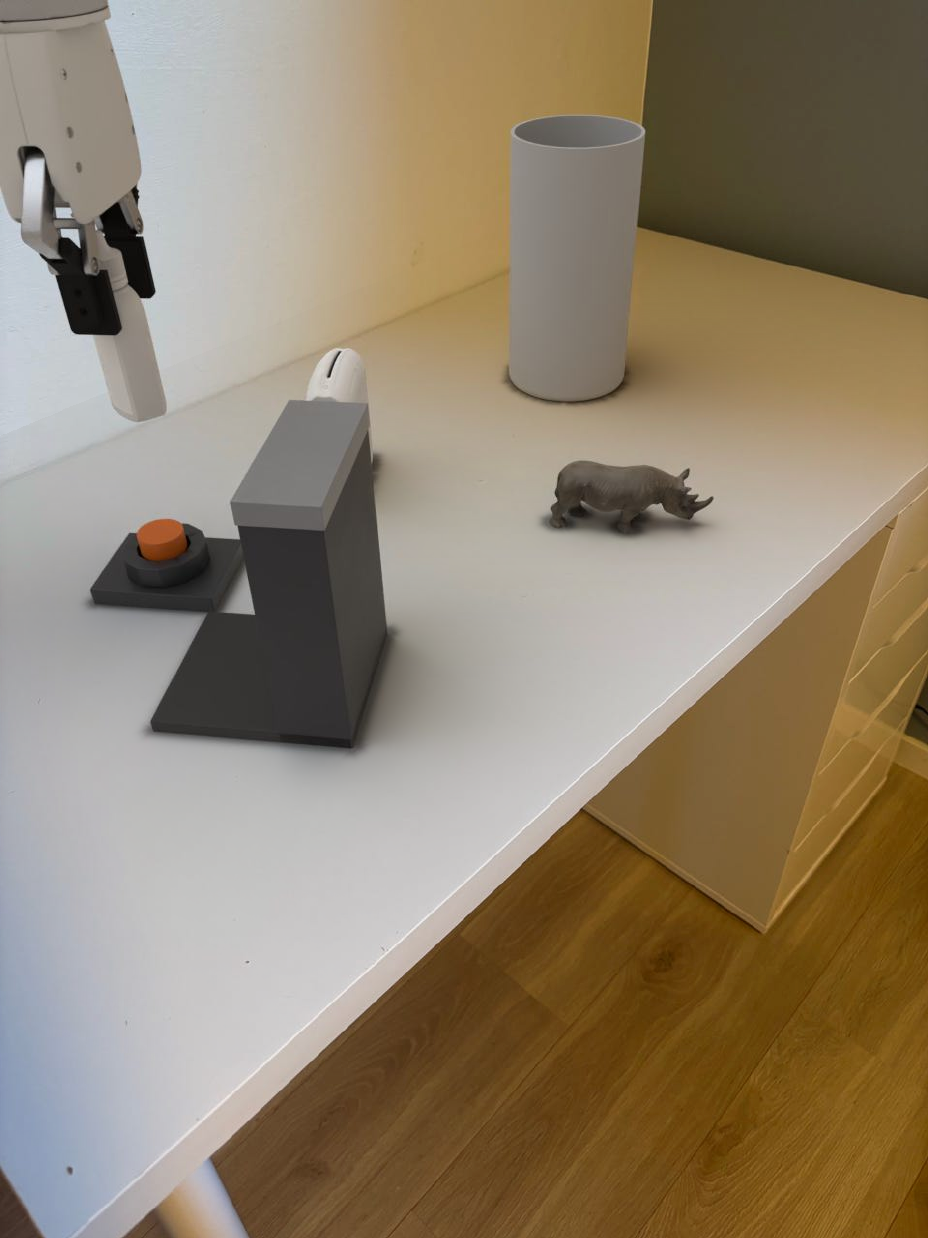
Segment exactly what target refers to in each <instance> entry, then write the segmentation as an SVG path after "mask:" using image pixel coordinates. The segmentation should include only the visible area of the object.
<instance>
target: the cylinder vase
mask: <svg viewBox="0 0 928 1238" xmlns="http://www.w3.org/2000/svg"><path fill="white" fill-rule="evenodd" d="M645 141H646V129H645V128H644V126H643V125H641V124H639V123H637V122H634V121H631V120H630V119H624V118H621V117H615V116H609V115H608V116H607V115H599V114H560V115H550V116H542V117H537V118H531V119H527V120H525V121H522V122H519V123H517V124H515V125H514V126H513V127H512V128H511V129H510V176H509V177H510V178H509V179H510V182H509V184H510V188H509V191H510V192H509V212H510V213H509V299H508V300H509V301H508V302H509V304H508V307H509V312H508V313H509V314H508V315H509V318H508V325H509V326H508V334H509V335H508V375H509V378H510V380H511V382H512V383H513V385H514V386H515V387H516V388H518V389H519V390H520V391H521V392H524V393H525V394H526V395H529V396H531V397H534V398H538V399H541V400H546V401H552V402H562V403H563V402H564V403H565V402H567V403H570V402H584V401H590V400H594V399H595V400H596V399H598V398H601V397H604V396H606V395H608V394H610V393H612V392H614V391H615V390H616V389H617V388H618V387H619V386H620V385H621V383H622V382H623V380H624V377H625V373H626V372H625V370H626V361H627V360H626V358H627V347H628V336H629V335H628V334H629V325H630V314H631V313H630V312H631V303H632V302H631V301H632V292H633V291H632V289H633V278H634V266H635V255H636V243H637V234H638V233H637V231H638V220H639V210H640V209H639V208H640V198H641V197H640V196H641V185H642V176H643V175H642V173H643V162H644V151H645Z"/></svg>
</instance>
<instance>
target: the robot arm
mask: <svg viewBox="0 0 928 1238" xmlns="http://www.w3.org/2000/svg"><path fill="white" fill-rule="evenodd" d="M111 18H112V14H111V9H110V4H109V0H0V191H1V194H2V198H3V201H4V204H5V208H6V210H7V212H8V215H9V217H10V218H11V219H12V220H13V221H14V222H15V223H17V224H20V237H21V240H22V242H23V243H24V244H25V245H27V246H28V247H30V248H31V249H32V250H34V251H35V252H36V253H37V254H38V255H39V256H40V258H41V259H42V260H44V261H45V263H46V264H47V265H46V266H47V269H48V271H49V273H50V274H51V275H52V276H55V280H56V283H57V288H58V291H59V293H60V297H61V301H62V305H63V307H64V311H65V315H66V318H67V322H68V325H69V329H70V331H71V332H72V333H73V334H75V335H78V336H93V335H117V334H118V333H119V332H120V331H121V330H122V325H121V321H120V317H119V313H118V309H117V306H116V302H115V298H114V294H113V290H112V286H111V282H110V278H109V274H108V270H100V263H99V255H98V246H97V238H96V230H101V231H102V234H103V236H104V238H105V240H106V243H107V244H108V246H109V247H111V248H115V249H118V250H119V251H120V252H121V254H122V259H123V263H124V267H125V271H126V275H127V279H128V283H127V284H128V285H129V286H130V287H131V288H133V289H134V291H135V292H136V293H137V294H138V296H139V297H140V299H147V300H148V299H152V298H153V297H154V296H155V294H156V292H157V291H156V285H155V281H154V278H153V273H152V269H151V265H150V259H149V256H148V251H147V250H148V249H147V247H146V242H145V237H144V236H143V233H144V227H145V226H144V220H143V218H142V215H141V213H140V210H139V200H140V197H141V196H140V195H139V193H140V190H139V189H138V184H139V181H140V179H141V177H142V170H143V169H142V160H141V153H140V148H139V143H138V137H137V132H136V127H135V124H134V119H133V116H132V110H131V108H130V103H129V99H128V96H127V95H128V94H127V91H126V88H125V84H124V80H123V77H122V72H121V70H120V66H119V63H118V59H117V55H116V52H115V49H114V45H113V42H112V40H111V39H112V38H111V35H110V33H109V29H108V26H107V24H106V20H110V19H111ZM57 208H58V209H61V208H62V209H66V208H67V209H70V210H71V213H70V217H57ZM61 230H77V232H78V240H79V246H78V245H77V244H76V243H75V241H73V239H71V238H70V237H67V236H66V237H65V236H62V231H61Z"/></svg>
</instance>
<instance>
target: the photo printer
mask: <svg viewBox="0 0 928 1238" xmlns="http://www.w3.org/2000/svg"><path fill="white" fill-rule="evenodd" d="M305 401H327V402H350V403H368V409H369V410H370V403H369V391H368V383H367V372H366V366H365V362H364V360H363V358H362V357H361V356H360V355H359V353H358V352H356V351H355V350H354V349H353V348H350V347H348V348H340V347H336V348H333V349H331V350H330V351H328V352H327V353H325V354H324V355H323V356H322V358H321V359H320V360H319V362H318V363H317V364H316V366H315V368H314V370H313V373H312V375H311V377H310V380H309V382H308V386H307V390H306V393H305ZM370 413H371V411H369V419H370V420H371V414H370ZM371 423H372V422H370V426H369V429H368V431H369V441H370V452H371V463H372V464H373V462H374V461H373V460H374V447H373V435H372V434H373V433H372V424H371Z"/></svg>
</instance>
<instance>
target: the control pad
mask: <svg viewBox="0 0 928 1238" xmlns="http://www.w3.org/2000/svg"><path fill="white" fill-rule="evenodd" d="M180 523H181V522H180ZM181 524H182V526H183V529H184V533H185V537H186V541H187V549H186V551H185V552H184V553H182V554H181V555H179V556H177V557H176V558H172V559H168V560H164V561H150V560H147V559H145V558H144V557H143V555H142V553H141V550H140V546H139V542H138V539H137V532H128V534H126V536H125V538H124V540H123V541H122V542H121V544H119V545H120V546H118V548H117V550H116V551H115V553H114V554H113V555H112V557H111V558H110V560H109V561H108V562H107V564H106V566H105V567H104V569H102V571H101V573H100V574H99V575H98V577H96V580H95V581H94V583H93V584H92V586H91V587H90V588H89V592H90V595H91V598H92V601H93V604H94V605H103V606H117V607H130V608H145V609H158V610H159V609H160V610H174V611H189V612H201V613H202V612H203V613H208V612H217V609H218V607H219V605H220V603H221V601H222V599H223V598H224V596H225V594H226V593H227V590H228V588H229V586H230V584H231V583H232V581H233V578H234V577H235V575H236V573H237V572H238V569H239V567H240V565H241V563H242V562H243V561H244V557H243V552H242V547H241V542H240V538H224V537H223V538H222V537H208V536H207V537H206V536H205V535H204V532H203V530H201V529H200V528H198V527H196V526H194V525H192V524H190V523H183V522H182V523H181Z"/></svg>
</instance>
